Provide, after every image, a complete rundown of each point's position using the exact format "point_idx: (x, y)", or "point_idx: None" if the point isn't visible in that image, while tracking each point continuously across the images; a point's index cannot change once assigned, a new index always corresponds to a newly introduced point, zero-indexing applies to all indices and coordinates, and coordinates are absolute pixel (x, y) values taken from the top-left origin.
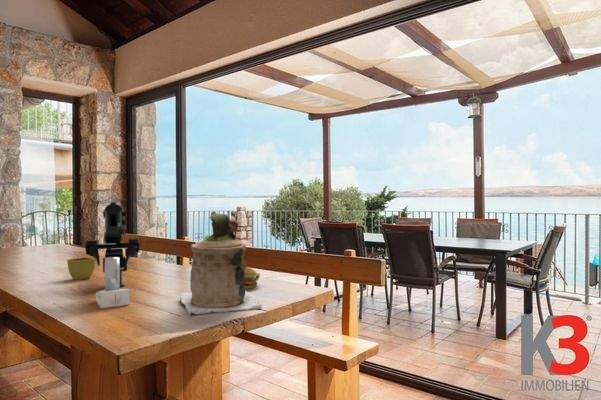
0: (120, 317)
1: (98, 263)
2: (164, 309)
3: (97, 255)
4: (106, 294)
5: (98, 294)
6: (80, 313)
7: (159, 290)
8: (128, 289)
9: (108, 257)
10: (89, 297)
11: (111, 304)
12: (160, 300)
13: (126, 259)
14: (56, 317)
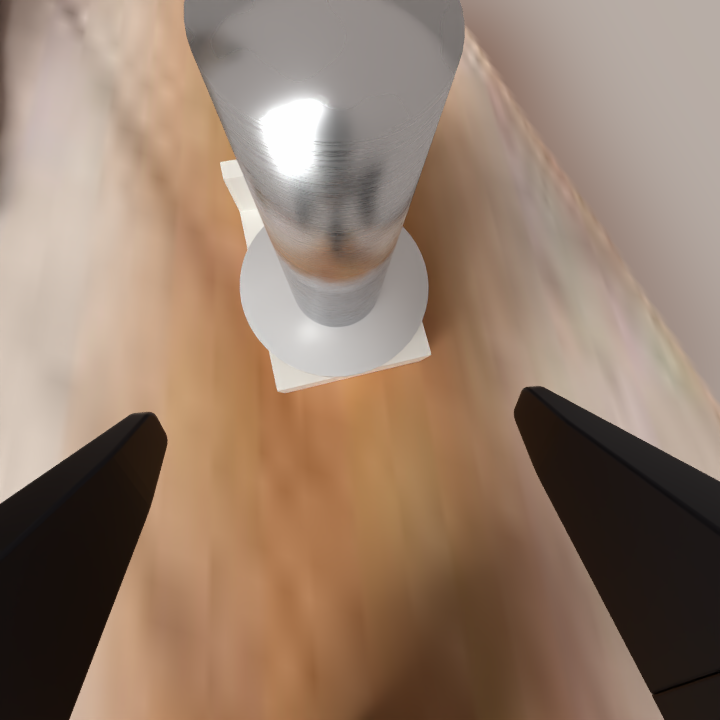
0: None
1: (545, 388)
2: (93, 78)
3: (714, 500)
4: None
5: (405, 236)
6: (445, 144)
7: None
8: (226, 161)
9: (403, 65)
10: (471, 463)
11: None
12: (87, 253)
13: (101, 453)
14: (522, 119)
